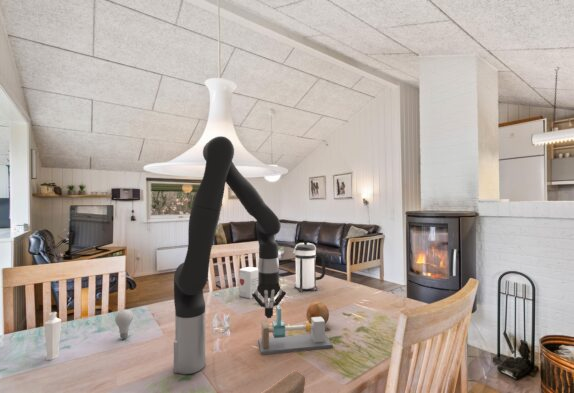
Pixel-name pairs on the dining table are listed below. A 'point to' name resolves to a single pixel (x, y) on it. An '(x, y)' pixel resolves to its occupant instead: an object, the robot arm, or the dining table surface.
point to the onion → (317, 311)
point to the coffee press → (307, 266)
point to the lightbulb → (124, 322)
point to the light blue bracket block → (278, 324)
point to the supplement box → (248, 281)
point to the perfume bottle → (52, 336)
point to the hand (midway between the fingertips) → (268, 317)
